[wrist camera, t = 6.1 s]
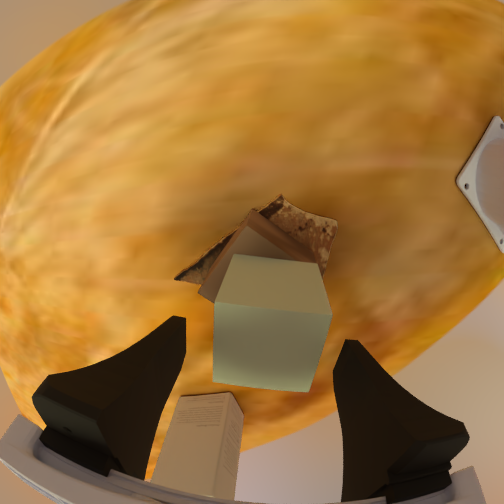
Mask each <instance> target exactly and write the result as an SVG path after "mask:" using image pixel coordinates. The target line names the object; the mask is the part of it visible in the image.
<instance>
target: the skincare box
mask: <svg viewBox="0 0 504 504" xmlns="http://www.w3.org/2000/svg"><path fill="white" fill-rule="evenodd" d="M243 420H244V415H243V412H242V411H241V409H240V407H239V405H238V403H237V401H236V400H235V398H234V396H233V395H232V393H231V392H227V393H219V394H209V395H198V396H186V397H179V400H178V403H177V405H176V408H175V411H174V414H173V417H172V420H171V423H170V426H169V428H168V431H167V434H166V437H165V440H164V443H163V446H162V449H161V452H160V455H159V457H158V460H157V463H156V467H155V469H154V472H153V476H152V479H151V482H150V483H153V484H157V485H160V486H164V487H167V488H171V489H175V490H179V491H183V492H188V493H192V494H197V495H202V496H208V497H213V498H220V499H226V500H234V496H235V486H236V479H237V471H238V462H239V454H240V446H241V437H242V429H243Z"/></svg>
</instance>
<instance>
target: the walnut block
mask: <svg viewBox="0 0 504 504" xmlns="http://www.w3.org/2000/svg"><path fill="white" fill-rule="evenodd" d="M234 254H240V255H249V256H257V257H266V258H274V259H282V260H291V261H299V262H308V263H316V261H315V257H314V254H313V252H312V251H310V250H309V249H308V248H306V247H305V246H304V245H302V244H301V243H300V242H298V241H297V240H295V239H294V238H293V237H291V236H290V235H289V234H287V233H286V232H284V231H283V230H282V229H280V228H279V227H277V226H276V225H275V224H273V223H272V222H271V221H269V220H268V219H266V218H265V217H264V216H262V215H261V214H259V213H258V212H256V211H255V210H254V209H252V210H251V212H250V213H249V214H248V216H247V217H246V218H245V220H244V221H243V223H242V224H241V225H240V227H239V228H238V229H237V231H236V232H235V234H234V235H233V236H232V238H231V239H230V241H229V242H228V243H227V245H226V246H225V248H224V249H223V250H222V252H221V253H220V255H219V256H218V257H217V259H216V260H215V262H214V263H213V264H212V266H211V268H210V270H209V272H208V274H207V276H206V278H205V279H204V281H203V283H202V285H201V287H200V289H199V291H198V293H199V294H200V295H202V296H203V297H205V298H206V299H208V300H209V301H211V302H212V303H214V304H215V299H216V297H217V294H218V292H219V289H220V287H221V284H222V282H223V279H224V277H225V274H226V272H227V269H228V267H229V264H230V262H231V259H232V257H233V255H234Z"/></svg>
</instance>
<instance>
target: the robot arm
mask: <svg viewBox="0 0 504 504" xmlns="http://www.w3.org/2000/svg"><path fill="white" fill-rule="evenodd" d="M500 125H501V127H500ZM456 182H457V185H458V187H459V188H460V190H461V191H462V192H463V194H464V195H465V196H466V198H467V199H468V201H469V202H470V203H471V205H472V206H473V208H474V209H475V211H476V212H477V214H478V215H479V217H480V218H481V220H482V221H483V223H484V224H485V226H486V228H487V229H488V231H489V232H490V234H491V236H492V237H493V239H494V241H495V243H496V244H497V246H498V248H499V250H500V251H501V252H502V253H504V122H503V121H502V119H501V118H500V117H499V116H494V117H493V119H492V121H491V123H490V125H489V127H488V128H487V130H486V132H485V134H484V135H483V137H482V139H481V140H480V142H479V144H478V146H477V147H476V149H475V150H474V152H473V154H472V155H471V157H470V159H469V160H468V162H467V163H466V165H465V166H464V168H463V169H462V171H461V172H460V174H459V175H458V177H457V180H456ZM465 184H466V188H464V186H465ZM500 240H501V241H500ZM185 354H186V318H184V317H178V316H172V317H170V318H169V319H168V320H166V321H165V322H164V323H163V324H161V325H160V326H159V327H157V328H156V329H155V330H154V331H152V332H151V333H150V334H148V335H147V336H145V337H144V338H143V339H141V340H140V341H138V342H137V343H135V344H134V345H132V346H131V347H129V348H127V349H126V350H124V351H122V352H120V353H118V354H116V355H114V356H112V357H110V358H108V359H106V360H103V361H101V362H98V363H96V364H93V365H90V366H87V367H84V368H81V369H77V370H73V371H69V372H63V373H58V374H52V375H48V376H47V377H46V379H45V380H44V381H43V382H42V384H41V385H40V386H39V388H38V389H37V390H36V391H35V393H34V394H33V396H32V400H33V404H34V406H35V408H36V410H37V411H38V413H39V415H40V416H41V418H42V419H43V421H44V422H45V424H46V425H47V426H46V428H45V429H44V431H43V430H42V429H41V428H40V427H39V426H37V425H36V424H34V423H33V422H31V421H30V420H28V419H27V418H25V417H23V416H22V415H20V414H19V415H18V416H17V417H16V418H15V420H14V421H13V423H12V424H11V425H10V427H9V429H8V430H7V431H6V433H5V434H4V436H3V437H2V438H1V440H0V461H1V462H2V463H3V464H4V465H5V466H6V467H8V468H9V469H10V470H11V471H12V472H13V473H14V474H15V475H16V476H18V477H19V478H20V479H21V480H22V481H24V482H25V483H26V484H28V485H29V486H31V487H32V488H34V489H35V490H37V491H38V492H40V493H41V494H43V495H44V496H46V497H47V498H49V499H51V500H52V501H54V502H55V503H57V504H265V503H252V502H242V501H234V500H226V499H220V498H213V497H208V496H202V495H197V494H192V493H188V492H183V491H179V490H175V489H171V488H167V487H164V486H160V485H157V484H153V483H150V482H147V481H144V479H145V474H146V469H147V464H148V460H149V456H150V452H151V448H152V444H153V440H154V437H155V433H156V430H157V426H158V423H159V420H160V417H161V413H162V411H163V408H164V406H165V404H166V401H167V399H168V397H169V395H170V393H171V391H172V388H173V386H174V384H175V382H176V380H177V377H178V375H179V373H180V371H181V368H182V364H183V361H184V358H185ZM333 384H334V393H335V398H336V403H337V408H338V413H339V418H340V423H341V428H342V436H343V487H342V497H341V502H340V503H328V504H486V502H485V498H484V495H483V492H482V489H481V486H480V483H479V481H478V478H477V475H476V472H475V470H474V467H473V466H470V467H467V468H465V469H462V470H459V471H457V472H454V473H453V474H451V475H450V474H449V471H448V470H450V469H451V467H452V466H451V463H450V461H451V460H452V459H453V458H454V457H455V456H456V455H457V454H458V453H459V452H460V451H461V450H462V449H463V448H464V447H465V446H466V445H467V443H468V441H469V438H470V437H469V434H468V432H467V430H466V428H465V426H464V423H463V422H460V421H458V420H455V419H453V418H451V417H448V416H446V415H444V414H442V413H440V412H438V411H436V410H434V409H433V408H431V407H429V406H427V405H426V404H424V403H423V402H421V401H420V400H418V399H417V398H416V397H414V396H413V395H412V394H410V393H409V392H408V391H407V390H405V389H404V388H403V387H402V386H401V385H399V384H398V383H397V382H396V381H395V380H394V379H393V378H392V377H391V376H390V375H389V374H388V373H387V372H386V371H385V370H384V369H383V368H382V367H381V366H380V364H379V363H378V362H377V361H376V360H375V359H374V358H373V357H372V356H371V354H370V353H369V352H368V351H367V350H366V349H365V348H364V346H363V345H362V344H361V343H360V342H359V341H358V340H347V339H345V342H344V344H343V347H342V350H341V352H340V355H339V357H338V360H337V362H336V365H335V367H334V369H333Z"/></svg>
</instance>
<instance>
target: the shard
mask: <svg viewBox="0 0 504 504" xmlns="http://www.w3.org/2000/svg"><path fill="white" fill-rule="evenodd" d="M257 212H258V213H259V214H261V215H262V216H264V217H265V218H266V219H268V220H269V221H271V222H272V223H273V224H275V225H276V226H277V227H279V228H280V229H282V230H283V231H284V232H286V233H287V234H289V235H290V236H291V237H293V238H294V239H295V240H297V241H298V242H300V243H301V244H302V245H304V246H305V247H306V248H308V249H309V250H310V251H312V252H313V254H314V257H315V261H316V264H318V267H319V270H320V273H321V277H322V280H323V277H324V274H325V270H326V263H327V261H328V257H329V254H330V250H331V246H332V243H333V241H334V239H335V236H336V233H337V230H338V226H337V221H336V220H333V219H330V218H325V217H321V216H317V215H315V214H311V213H308V212H305V211H302V210H301V209H299V208H297V207H295V206H293V205H292V204H290V203H288V202H287V201H286V200H285V198H284V197H283V195H281V194H280V195H278V196H276V198H275V199H274V200H273V201H271V202H269V204H267V205H266V206H265V207H263V208H262V209H260V210H259V211H257ZM239 227H240V226H239ZM239 227H238V228H239ZM238 228H236V229H235V230H234V231H233V232H232V233H230V234H228V235H227V236H225V237H222V239H221V240H220V241H219V242H217V243H216V244H215V245H213V246H212V247H211V248H210V249H208V250H207V251H206V252H205V253H204V254H203V255H202V256H201V257H200V258H199V260H198V261H197V262H195V263H194V264H193V265H192V266H190V267H189V268H188V269H185V270H183V271H182V272H181V273H179V274H178V275H177V276H176V277H175V278H174V280H179V281H186V282H189V283H194V284H201V285H202V283H203V281H204V279H205V278H206V276H207V274H208V272H209V270H210V268H211V266H212V264H213V263H214V262H215V260H216V259H217V257H218V256H219V255H220V253H221V252H222V250H223V249H224V248H225V246H226V245H227V243H228V242H229V241H230V239H231V238H232V236H233V235H234V234H235V232H236V231H237V229H238Z"/></svg>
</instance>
